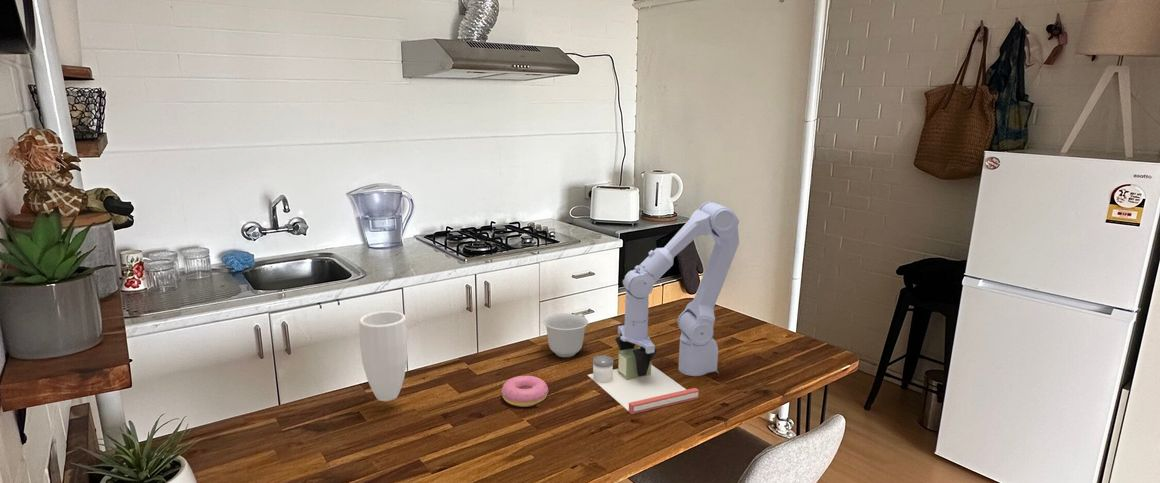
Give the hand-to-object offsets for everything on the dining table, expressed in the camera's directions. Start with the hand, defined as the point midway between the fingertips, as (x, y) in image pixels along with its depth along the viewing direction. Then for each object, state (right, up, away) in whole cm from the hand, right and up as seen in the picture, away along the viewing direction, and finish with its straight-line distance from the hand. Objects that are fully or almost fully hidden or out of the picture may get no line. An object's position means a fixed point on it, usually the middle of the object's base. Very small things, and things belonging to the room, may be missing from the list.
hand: (634, 369), depth 162 cm
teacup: (-17, +1, +14) cm, 22 cm away
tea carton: (0, -1, 0) cm, 1 cm away
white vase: (-57, -6, -17) cm, 60 cm away
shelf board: (+1, -4, -6) cm, 7 cm away
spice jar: (-8, -2, -2) cm, 9 cm away
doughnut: (-27, -5, -11) cm, 29 cm away
